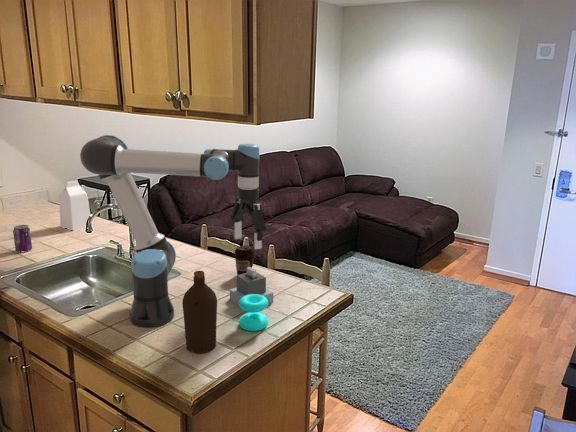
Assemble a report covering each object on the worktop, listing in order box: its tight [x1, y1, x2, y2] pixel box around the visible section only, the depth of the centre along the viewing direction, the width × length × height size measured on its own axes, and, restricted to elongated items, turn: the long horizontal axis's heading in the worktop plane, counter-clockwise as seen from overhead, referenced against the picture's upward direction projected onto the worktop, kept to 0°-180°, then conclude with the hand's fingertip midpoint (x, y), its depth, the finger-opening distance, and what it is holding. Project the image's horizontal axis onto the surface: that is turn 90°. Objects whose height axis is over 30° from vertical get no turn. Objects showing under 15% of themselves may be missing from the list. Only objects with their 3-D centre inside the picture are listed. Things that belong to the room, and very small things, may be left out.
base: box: [229, 287, 274, 305], centre depth 185 cm, size 12×12×4 cm
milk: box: [58, 180, 91, 232], centre depth 268 cm, size 12×12×26 cm
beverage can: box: [12, 224, 33, 253], centre depth 232 cm, size 7×7×12 cm
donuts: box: [238, 294, 269, 332], centre depth 166 cm, size 10×10×10 cm
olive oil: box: [181, 270, 218, 354], centre depth 150 cm, size 11×11×25 cm
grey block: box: [236, 271, 267, 295], centre depth 184 cm, size 8×8×6 cm
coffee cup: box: [234, 245, 255, 276], centre depth 207 cm, size 9×8×13 cm
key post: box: [247, 267, 257, 280], centre depth 183 cm, size 2×4×9 cm, turn 38°
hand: (247, 243), depth 180 cm, fingers open, 13 cm apart
